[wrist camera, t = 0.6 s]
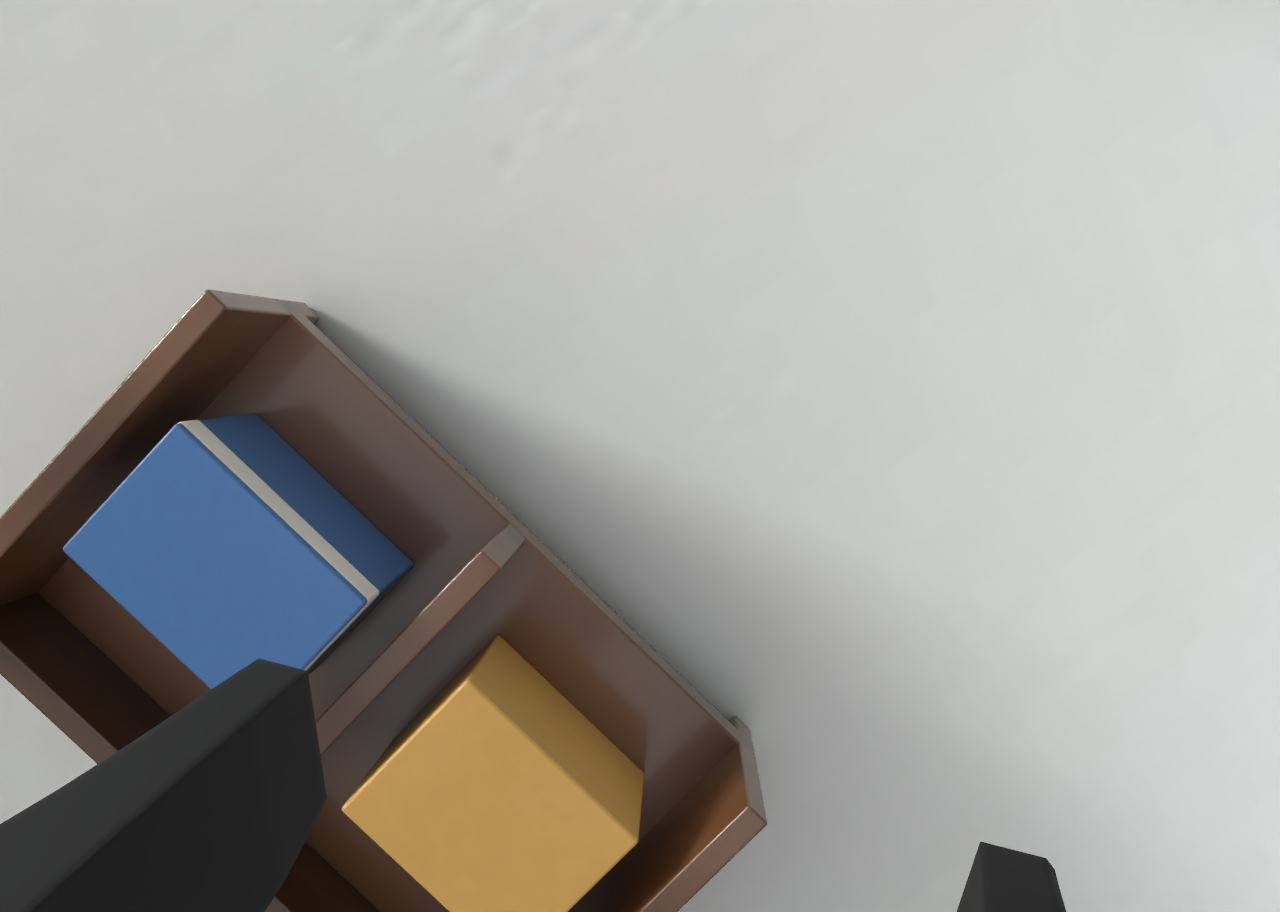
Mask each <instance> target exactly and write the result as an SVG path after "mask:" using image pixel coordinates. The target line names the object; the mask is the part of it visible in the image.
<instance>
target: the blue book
mask: <svg viewBox="0 0 1280 912" xmlns="http://www.w3.org/2000/svg"><path fill="white" fill-rule="evenodd" d="M63 551H64V552H65V553H66V554H67V555H68V556H69V557H70V558H71V559H72V560H74V561H75V562H76V563H77V564H78V565H79V566H80V567H81V568H82V569H83V570H84V571H85V572H86V573H87V574H89V575H90V576H91V577H92V578H93V579H94V580H95V581H96V582H97V583H98V584H99V585H100V586H101V587H102V588H103V589H105V590H106V591H107V592H108V593H109V594H110V595H111V596H112V597H113V598H114V599H115V600H116V601H117V602H118V603H120V604H121V605H122V606H123V607H124V608H125V609H126V610H127V611H128V612H129V613H130V614H131V615H132V616H133V617H134V618H136V619H137V620H138V621H139V622H140V623H141V624H142V625H143V626H144V627H145V628H146V629H147V630H148V631H149V632H150V633H152V634H153V635H154V636H155V637H156V638H157V639H158V640H159V641H160V642H161V643H162V644H163V645H164V646H165V647H167V648H168V649H169V650H170V651H171V652H172V653H173V654H174V655H175V656H176V657H177V658H178V659H179V660H180V661H181V662H183V663H184V664H185V665H186V666H187V667H188V668H189V669H190V670H191V671H192V672H193V673H194V674H195V675H196V676H198V677H199V678H200V679H201V680H202V681H203V682H204V683H205V684H206V685H207V686H208V687H209V688H210V689H213V688H214V687H216V686H217V685H219V684H220V683H222V682H223V681H225V680H226V679H228V678H229V677H231V676H232V675H234V674H235V673H237V672H238V671H240V670H241V669H243V668H245V667H246V666H248V665H249V664H251V663H252V662H254V661H255V660H257V659H263V660H267V661H271V662H275V663H279V664H283V665H287V666H291V667H295V668H298V669H302V670H306V671H308V675H309V674H311V673H312V672H313V671H314V670H315V669H316V668H317V667H318V666H319V665H320V664H321V663H322V662H323V661H324V660H325V659H326V658H327V657H328V656H329V655H330V654H331V653H332V652H333V651H334V650H335V649H336V648H337V647H338V645H339V644H340V643H341V642H342V641H343V640H344V639H345V638H346V637H347V636H348V635H349V634H350V633H351V632H352V631H353V630H354V629H355V628H356V627H357V626H358V625H359V624H360V622H361V621H362V620H363V619H364V618H365V617H366V616H367V615H368V614H369V613H370V612H371V611H372V610H373V609H374V608H375V607H376V606H377V605H378V604H379V603H380V602H381V601H382V599H383V598H384V597H385V596H386V595H387V594H388V593H389V592H390V591H391V590H392V589H393V588H394V587H395V586H396V585H397V584H398V583H399V582H400V581H401V580H402V579H403V578H404V576H405V575H406V574H407V573H408V572H409V571H410V570H411V569H412V568H413V567H414V564H413V562H412V561H411V560H410V559H409V558H408V557H407V556H405V555H404V554H403V553H402V552H401V551H400V550H399V549H398V548H397V547H396V546H395V545H394V544H393V543H392V542H391V541H390V540H389V539H388V538H387V537H385V536H384V535H383V534H382V533H381V532H380V531H379V530H378V529H377V528H376V527H375V526H374V525H373V524H372V523H371V522H370V521H369V520H368V519H367V518H365V517H364V516H363V515H362V514H361V513H360V512H359V511H358V510H357V509H356V508H355V507H354V506H353V505H352V504H351V503H350V502H349V501H348V500H347V499H345V498H344V497H343V496H342V495H341V494H340V493H339V492H338V491H337V490H336V489H335V488H334V487H333V486H332V485H331V484H330V483H329V482H328V481H327V480H325V479H324V478H323V477H322V476H321V475H320V474H319V473H318V472H317V471H316V470H315V469H314V468H313V467H312V466H311V465H310V464H309V463H308V462H307V461H305V460H304V459H303V458H302V457H301V456H300V455H299V454H298V453H297V452H296V451H295V450H294V449H293V448H292V447H291V446H290V445H289V444H288V443H287V442H285V441H284V440H283V439H282V438H281V437H280V436H279V435H278V434H277V433H276V432H275V431H274V430H273V429H272V428H271V427H270V426H269V425H268V424H267V423H265V422H264V421H263V420H262V419H261V418H260V417H259V416H258V415H257V414H255V413H252V414H244V415H237V416H229V417H221V418H214V419H206V420H191V421H183V422H179V423H177V424H175V425H174V426H173V427H172V428H171V430H170V431H169V432H168V433H167V434H166V435H165V436H164V437H163V438H162V439H161V440H160V442H159V443H158V444H157V445H156V446H155V447H154V448H153V449H152V450H151V451H150V453H149V454H148V455H147V456H146V457H145V458H144V459H143V460H142V461H141V462H140V463H139V465H138V466H137V467H136V468H135V469H134V470H133V471H132V472H131V473H130V474H129V476H128V477H127V478H126V479H125V480H124V481H123V482H122V483H121V484H120V485H119V486H118V488H117V489H116V490H115V491H114V492H113V493H112V494H111V495H110V496H109V497H108V499H107V500H106V501H105V502H104V503H103V504H102V505H101V506H100V507H99V508H98V509H97V511H96V512H95V513H94V514H93V515H92V516H91V517H90V518H89V519H88V520H87V521H86V523H85V524H84V525H83V526H82V527H81V528H80V529H79V530H78V531H77V532H76V534H75V535H74V536H73V537H72V538H71V539H70V540H69V541H68V542H67V543H66V544H65V546H64V547H63Z"/></svg>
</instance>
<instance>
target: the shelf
mask: <svg viewBox="0 0 1280 912" xmlns="http://www.w3.org/2000/svg"><path fill="white" fill-rule="evenodd" d="M318 318H319V317H318V316H317V315H316V314H315V313H314V312H313V311H312V310H311V309H310V308H309V307H308V306H307V305H306V304H304V303H299V302H292V301H286V300H278V299H271V298H264V297H257V296H250V295H243V294H236V293H229V292H222V291H215V290H206V291H205V292H204V293H203V294H202V295H201V296H200V297H199V298H198V299H197V300H196V302H195V303H194V304H193V305H192V306H191V307H190V308H189V309H188V310H187V311H186V313H185V314H184V315H183V316H182V317H181V318H180V319H179V320H178V321H177V323H176V324H175V325H174V326H173V327H172V328H171V329H170V330H169V331H168V333H167V334H166V335H165V336H164V337H163V338H162V339H161V340H160V341H159V342H158V344H157V345H156V346H155V347H154V348H153V349H152V350H151V351H150V352H149V354H148V355H147V356H146V357H145V358H144V359H143V360H142V361H141V362H140V364H139V365H138V366H137V367H136V368H135V369H134V370H133V371H132V372H131V373H130V375H129V376H128V377H127V378H126V379H125V380H124V381H123V382H122V383H121V385H120V386H119V387H118V388H117V389H116V390H115V391H114V392H113V393H112V395H111V396H110V397H109V398H108V399H107V400H106V401H105V402H104V403H103V405H102V406H101V407H100V408H99V409H98V410H97V411H96V412H95V413H94V414H93V416H92V417H91V418H90V419H89V420H88V421H87V422H86V423H85V424H84V426H83V427H82V428H81V429H80V430H79V431H78V432H77V433H76V434H75V436H74V437H73V438H72V439H71V440H70V441H69V442H68V443H67V444H66V445H65V447H64V448H63V449H62V450H61V451H60V452H59V453H58V454H57V455H56V457H55V458H54V459H53V460H52V461H51V462H50V463H49V464H48V465H47V467H46V468H45V469H44V470H43V471H42V472H41V473H40V474H39V475H38V476H37V478H36V479H35V480H34V481H33V482H32V483H31V484H30V485H29V486H28V488H27V489H26V490H25V491H24V492H23V493H22V494H21V495H20V496H19V498H18V499H17V500H16V501H15V502H14V503H13V504H12V505H11V506H10V507H9V509H8V510H7V511H6V512H5V513H4V514H3V515H2V516H1V517H0V674H1V675H2V676H3V677H4V678H5V679H7V680H8V681H9V682H10V683H11V684H12V685H13V686H14V687H15V688H16V689H17V690H18V691H19V692H21V693H22V694H23V695H24V696H25V697H26V698H27V699H28V700H29V701H30V702H31V703H32V704H34V705H35V706H36V707H37V708H38V709H39V710H40V711H41V712H42V713H43V714H44V715H45V716H46V717H48V718H49V719H50V720H51V721H52V722H53V723H54V724H55V725H56V726H57V727H58V728H59V729H60V730H62V731H63V732H64V733H65V734H66V735H67V736H68V737H69V738H70V739H71V740H72V741H73V742H74V743H76V744H77V745H78V746H79V747H80V748H81V749H82V750H83V751H84V752H85V753H86V754H87V755H88V756H90V757H91V758H92V759H93V760H94V761H95V762H96V763H97V764H99V763H101V762H102V761H104V760H105V759H107V758H108V757H110V756H111V755H113V754H114V753H116V752H118V751H119V750H121V749H122V748H124V747H125V746H127V745H128V744H130V743H132V742H133V741H135V740H136V739H138V738H139V737H141V736H142V735H144V734H145V733H147V732H148V731H150V730H151V729H153V728H154V727H156V726H157V725H159V724H160V723H162V722H163V721H165V720H166V719H168V718H169V717H171V716H172V715H174V714H175V713H177V712H178V711H180V710H181V709H183V708H184V707H186V706H187V705H189V704H190V703H192V702H193V701H195V700H196V699H198V698H199V697H201V696H202V695H204V694H205V693H207V692H208V691H210V690H211V689H210V688H209V687H208V686H207V685H206V684H205V683H204V682H203V681H202V680H201V679H200V678H199V677H198V676H196V675H195V674H194V673H193V672H192V671H191V670H190V669H189V668H188V667H187V666H186V665H185V664H184V663H183V662H181V661H180V660H179V659H178V658H177V657H176V656H175V655H174V654H173V653H172V652H171V651H170V650H169V649H168V648H167V647H165V646H164V645H163V644H162V643H161V642H160V641H159V640H158V639H157V638H156V637H155V636H154V635H153V634H152V633H150V632H149V631H148V630H147V629H146V628H145V627H144V626H143V625H142V624H141V623H140V622H139V621H138V620H137V619H136V618H134V617H133V616H132V615H131V614H130V613H129V612H128V611H127V610H126V609H125V608H124V607H123V606H122V605H121V604H120V603H118V602H117V601H116V600H115V599H114V598H113V597H112V596H111V595H110V594H109V593H108V592H107V591H106V590H105V589H103V588H102V587H101V586H100V585H99V584H98V583H97V582H96V581H95V580H94V579H93V578H92V577H91V576H90V575H89V574H87V573H86V572H85V571H84V570H83V569H82V568H81V567H80V566H79V565H78V564H77V563H76V562H75V561H74V560H72V559H71V558H70V557H69V556H68V555H67V554H66V553H65V552H64V551H63V547H64V546H65V544H66V543H67V542H68V541H69V540H70V539H71V538H72V537H73V536H74V535H75V534H76V532H77V531H78V530H79V529H80V528H81V527H82V526H83V525H84V524H85V523H86V521H87V520H88V519H89V518H90V517H91V516H92V515H93V514H94V513H95V512H96V511H97V509H98V508H99V507H100V506H101V505H102V504H103V503H104V502H105V501H106V500H107V499H108V497H109V496H110V495H111V494H112V493H113V492H114V491H115V490H116V489H117V488H118V486H119V485H120V484H121V483H122V482H123V481H124V480H125V479H126V478H127V477H128V476H129V474H130V473H131V472H132V471H133V470H134V469H135V468H136V467H137V466H138V465H139V463H140V462H141V461H142V460H143V459H144V458H145V457H146V456H147V455H148V454H149V453H150V451H151V450H152V449H153V448H154V447H155V446H156V445H157V444H158V443H159V442H160V440H161V439H162V438H163V437H164V436H165V435H166V434H167V433H168V432H169V431H170V430H171V428H172V427H173V426H174V425H175V424H177V423H179V422H183V421H191V420H206V419H214V418H221V417H229V416H237V415H244V414H252V413H255V414H257V415H258V416H259V417H260V418H261V419H262V420H263V421H264V422H265V423H267V424H268V425H269V426H270V427H271V428H272V429H273V430H274V431H275V432H276V433H277V434H278V435H279V436H280V437H281V438H282V439H283V440H284V441H285V442H287V443H288V444H289V445H290V446H291V447H292V448H293V449H294V450H295V451H296V452H297V453H298V454H299V455H300V456H301V457H302V458H303V459H304V460H305V461H307V462H308V463H309V464H310V465H311V466H312V467H313V468H314V469H315V470H316V471H317V472H318V473H319V474H320V475H321V476H322V477H323V478H324V479H325V480H327V481H328V482H329V483H330V484H331V485H332V486H333V487H334V488H335V489H336V490H337V491H338V492H339V493H340V494H341V495H342V496H343V497H344V498H345V499H347V500H348V501H349V502H350V503H351V504H352V505H353V506H354V507H355V508H356V509H357V510H358V511H359V512H360V513H361V514H362V515H363V516H364V517H365V518H367V519H368V520H369V521H370V522H371V523H372V524H373V525H374V526H375V527H376V528H377V529H378V530H379V531H380V532H381V533H382V534H383V535H384V536H385V537H387V538H388V539H389V540H390V541H391V542H392V543H393V544H394V545H395V546H396V547H397V548H398V549H399V550H400V551H401V552H402V553H403V554H404V555H405V556H407V557H408V558H409V559H410V560H411V561H412V562H413V564H414V567H413V568H412V569H411V570H410V571H409V572H408V573H407V574H406V575H405V576H404V578H403V579H402V580H401V581H400V582H399V583H398V584H397V585H396V586H395V587H394V588H393V589H392V590H391V591H390V592H389V593H388V594H387V595H386V596H385V597H384V598H383V599H382V601H381V602H380V603H379V604H378V605H377V606H376V607H375V608H374V609H373V610H372V611H371V612H370V613H369V614H368V615H367V616H366V617H365V618H364V619H363V620H362V621H361V622H360V624H359V625H358V626H357V627H356V628H355V629H354V630H353V631H352V632H351V633H350V634H349V635H348V636H347V637H346V638H345V639H344V640H343V641H342V642H341V643H340V644H339V645H338V647H337V648H336V649H335V650H334V651H333V652H332V653H331V654H330V655H329V656H328V657H327V658H326V659H325V660H324V661H323V662H322V663H321V664H320V665H319V666H318V667H317V668H316V669H315V670H314V671H313V672H312V673H311V674H309V682H310V689H311V695H312V702H313V709H314V715H315V722H316V729H317V736H318V742H319V749H320V756H321V762H322V769H323V776H324V782H325V789H326V796H327V798H326V800H325V802H324V804H323V806H322V808H321V810H320V812H319V814H318V817H317V819H316V821H315V823H314V825H313V827H312V829H311V831H310V833H309V835H308V837H307V839H306V841H305V843H304V845H303V847H302V849H301V851H300V853H299V854H298V856H297V858H296V860H295V862H294V864H293V866H292V868H291V870H290V871H289V873H288V875H287V877H286V879H285V881H284V883H283V884H282V886H281V888H280V889H279V891H278V892H277V894H276V895H275V897H274V898H273V900H272V901H271V903H270V905H269V906H268V908H267V909H266V911H265V912H449V911H448V910H447V909H446V908H445V907H444V906H443V905H442V904H441V903H440V902H439V901H438V900H437V899H436V898H435V897H433V896H432V895H431V894H430V893H429V892H428V891H427V890H426V889H425V888H424V887H423V886H422V885H421V884H420V883H418V882H417V881H416V880H415V879H414V878H413V877H412V876H411V875H410V874H409V873H408V872H407V871H406V870H405V869H404V868H402V867H401V866H400V865H399V864H398V863H397V862H396V861H395V860H394V859H393V858H392V857H391V856H390V855H389V854H387V853H386V852H385V851H384V850H383V849H382V848H381V847H380V846H379V845H378V844H377V843H376V842H375V841H374V840H373V839H371V838H370V837H369V836H368V835H367V834H366V833H365V832H364V831H363V830H362V829H361V828H360V827H359V826H358V825H357V824H355V823H354V822H353V821H352V820H351V819H350V818H349V817H348V816H347V815H346V814H345V813H344V812H343V811H342V807H343V805H344V804H345V803H346V801H347V800H348V799H349V797H350V796H351V795H352V793H353V792H354V791H355V789H356V788H357V787H358V785H359V784H360V783H361V781H362V780H363V779H364V777H365V776H366V775H367V773H368V772H369V771H370V769H371V768H372V767H373V765H374V764H375V763H376V761H377V760H378V759H379V757H380V756H381V755H382V753H383V752H384V751H385V750H386V748H387V747H388V746H389V744H390V743H391V742H392V741H393V740H394V739H395V738H396V737H397V736H398V735H399V734H400V733H401V732H402V731H403V730H404V729H405V728H406V727H407V726H408V725H409V724H410V723H411V722H412V721H413V720H414V719H415V718H416V717H417V716H418V715H419V714H420V713H421V712H422V711H423V710H424V708H425V707H426V706H427V705H428V704H429V703H430V702H431V701H432V700H433V699H434V698H435V697H436V696H437V695H438V694H439V693H440V692H441V691H442V690H443V689H444V688H445V687H446V686H447V685H448V684H449V683H450V682H451V681H452V680H453V679H454V678H455V677H456V676H457V675H458V674H459V673H460V672H461V671H462V670H463V668H464V667H465V666H466V665H467V664H468V663H469V662H470V661H471V660H472V659H473V658H474V657H475V656H476V655H477V654H478V653H479V652H480V651H481V650H482V649H483V648H484V647H485V646H486V645H487V644H488V643H489V642H490V641H491V640H492V639H493V638H494V637H495V636H496V635H499V636H500V637H502V638H503V639H504V640H505V641H506V642H507V643H508V644H509V645H510V646H511V647H512V648H513V649H514V650H515V651H516V652H517V653H518V654H519V655H520V656H522V657H523V658H524V659H525V660H526V661H527V662H528V663H529V664H530V665H531V666H532V667H533V668H534V669H535V670H536V671H537V672H538V673H539V674H540V675H542V676H543V677H544V678H545V679H546V680H547V681H548V682H549V683H550V684H551V685H552V686H553V687H554V688H555V689H556V690H557V691H558V692H559V693H560V694H562V695H563V696H564V697H565V698H566V699H567V700H568V701H569V702H570V703H571V704H572V705H573V706H574V707H575V708H576V709H577V710H578V711H579V712H580V713H582V714H583V715H584V716H585V717H586V718H587V719H588V720H589V721H590V722H591V723H592V724H593V725H594V726H595V727H596V728H597V729H598V730H599V731H600V732H601V733H603V734H604V735H605V736H606V737H607V738H608V739H609V740H610V741H611V742H612V743H613V744H614V745H615V746H616V747H617V748H618V749H619V750H620V751H621V752H623V753H624V754H625V755H626V756H627V757H628V758H629V759H630V760H631V761H632V762H633V763H634V764H635V765H636V766H637V767H638V768H639V769H640V770H641V771H643V773H644V783H643V794H642V805H641V817H640V828H639V839H638V843H637V844H636V845H635V846H634V847H633V848H632V849H631V850H630V851H629V852H628V853H627V854H626V855H625V856H624V857H623V858H622V859H621V860H620V861H619V862H618V863H617V864H616V865H615V866H614V867H613V868H612V869H611V870H610V871H609V872H608V873H607V874H606V875H605V876H604V877H603V878H601V879H600V880H599V881H598V882H597V883H596V884H595V885H594V886H593V887H592V888H591V889H590V890H589V891H588V892H587V893H586V894H585V895H584V896H583V897H582V898H581V899H580V900H579V901H578V902H577V903H576V904H575V905H574V906H573V907H572V908H571V909H570V910H569V911H568V912H677V911H678V910H679V909H681V908H682V907H683V906H684V905H685V904H686V903H687V902H688V901H689V900H690V899H691V898H692V897H693V896H694V895H695V894H696V893H697V892H698V891H699V890H700V889H701V888H702V887H703V886H704V885H705V884H706V883H707V882H708V881H709V880H710V879H711V878H712V877H713V876H715V875H716V874H717V873H718V872H719V871H720V870H721V869H722V868H723V867H724V866H725V865H726V864H727V863H728V862H729V861H730V860H731V859H732V858H733V857H734V856H735V855H736V854H737V853H738V852H739V851H740V850H741V849H742V848H743V847H744V846H745V845H746V844H747V843H749V842H750V841H751V840H752V839H753V838H754V837H755V836H756V835H757V834H758V833H759V832H760V831H761V830H762V829H763V828H764V827H765V826H766V825H767V818H766V813H765V807H764V802H763V797H762V791H761V786H760V780H759V775H758V770H757V764H756V759H755V753H754V748H753V743H752V737H751V732H750V729H749V728H748V727H747V726H746V725H745V724H744V723H743V722H742V721H741V720H740V719H739V718H738V717H736V716H734V717H733V718H732V719H731V720H730V721H728V720H727V719H726V718H725V717H724V716H723V715H722V714H721V713H720V712H719V711H718V710H717V709H716V708H715V707H713V706H712V705H711V704H710V703H709V702H708V701H707V700H706V699H705V698H704V697H703V696H702V695H701V694H700V693H699V692H698V691H697V690H696V689H695V688H694V687H693V686H692V685H690V684H689V683H688V682H687V681H686V680H685V679H684V678H683V677H682V676H681V675H680V674H679V673H678V672H677V671H676V670H675V669H674V668H673V667H672V666H671V665H670V664H669V663H667V662H666V661H665V660H664V659H663V658H662V657H661V656H660V655H659V654H658V653H657V652H656V651H655V650H654V649H653V648H652V647H651V646H650V645H649V644H648V643H647V642H646V641H644V640H643V639H642V638H641V637H640V636H639V635H638V634H637V633H636V632H635V631H634V630H633V629H632V628H631V627H630V626H629V625H628V624H627V623H626V622H625V621H624V620H623V619H621V618H620V617H619V616H618V615H617V614H616V613H615V612H614V611H613V610H612V609H611V608H610V607H609V606H608V605H607V604H606V603H605V602H604V601H603V600H602V599H601V598H600V597H598V596H597V595H596V594H595V593H594V592H593V591H592V590H591V589H590V588H589V587H588V586H587V585H586V584H585V583H584V582H583V581H582V580H581V579H580V578H579V577H578V576H577V575H575V574H574V573H573V572H572V571H571V570H570V569H569V568H568V567H567V566H566V565H565V564H564V563H563V562H562V561H561V560H560V559H559V558H558V557H557V556H556V555H555V554H554V553H552V552H551V551H550V550H549V549H548V548H547V547H546V546H545V545H544V544H543V543H542V542H541V541H540V540H539V539H538V538H537V537H536V536H535V535H534V534H533V533H532V532H531V531H529V530H528V529H527V528H526V527H525V526H524V525H523V524H522V523H521V522H520V521H519V520H518V519H517V518H516V517H515V516H514V515H513V514H512V513H511V512H510V511H509V510H508V509H506V508H505V507H504V506H503V505H502V504H501V503H500V502H499V501H498V500H497V499H496V498H495V497H494V496H493V495H492V494H491V493H490V492H489V491H488V490H487V489H486V488H485V487H483V486H482V485H481V484H480V483H479V482H478V481H477V480H476V479H475V478H474V477H473V476H472V475H471V474H470V473H469V472H468V471H467V470H466V469H465V468H464V467H463V466H462V465H460V464H459V463H458V462H457V461H456V460H455V459H454V458H453V457H452V456H451V455H450V454H449V453H448V452H447V451H446V450H445V449H444V448H443V447H442V446H441V445H440V444H439V443H437V442H436V441H435V440H434V439H433V438H432V437H431V436H430V435H429V434H428V433H427V432H426V431H425V430H424V429H423V428H422V427H421V426H420V425H419V424H418V423H417V422H416V421H414V420H413V419H412V418H411V417H410V416H409V415H408V414H407V413H406V412H405V411H404V410H403V409H402V408H401V407H400V406H399V405H398V404H397V403H396V402H395V401H394V400H393V399H391V398H390V397H389V396H388V395H387V394H386V393H385V392H384V391H383V390H382V389H381V388H380V387H379V386H378V385H377V384H376V383H375V382H374V381H373V380H372V379H371V378H370V377H368V376H367V375H366V374H365V373H364V372H363V371H362V370H361V369H360V368H359V367H358V366H357V365H356V364H355V363H354V362H353V361H352V360H351V359H350V358H349V357H348V356H347V355H345V354H344V353H343V352H342V351H341V350H340V349H339V348H338V347H337V346H336V345H335V344H334V343H333V342H332V341H331V340H330V339H329V338H328V337H327V336H326V335H325V334H324V333H322V332H321V331H320V330H319V329H318V328H317V327H316V326H315V325H314V323H315V322H316V321H317V320H318Z"/></svg>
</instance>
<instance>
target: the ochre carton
mask: <svg viewBox="0 0 1280 912" xmlns="http://www.w3.org/2000/svg"><path fill="white" fill-rule="evenodd" d="M643 783H644V773H643V771H641V770H640V769H639V768H638V767H637V766H636V765H635V764H634V763H633V762H632V761H631V760H630V759H629V758H628V757H627V756H626V755H625V754H624V753H623V752H621V751H620V750H619V749H618V748H617V747H616V746H615V745H614V744H613V743H612V742H611V741H610V740H609V739H608V738H607V737H606V736H605V735H604V734H603V733H601V732H600V731H599V730H598V729H597V728H596V727H595V726H594V725H593V724H592V723H591V722H590V721H589V720H588V719H587V718H586V717H585V716H584V715H583V714H582V713H580V712H579V711H578V710H577V709H576V708H575V707H574V706H573V705H572V704H571V703H570V702H569V701H568V700H567V699H566V698H565V697H564V696H563V695H562V694H560V693H559V692H558V691H557V690H556V689H555V688H554V687H553V686H552V685H551V684H550V683H549V682H548V681H547V680H546V679H545V678H544V677H543V676H542V675H540V674H539V673H538V672H537V671H536V670H535V669H534V668H533V667H532V666H531V665H530V664H529V663H528V662H527V661H526V660H525V659H524V658H523V657H522V656H520V655H519V654H518V653H517V652H516V651H515V650H514V649H513V648H512V647H511V646H510V645H509V644H508V643H507V642H506V641H505V640H504V639H503V638H502V637H500V636H499V635H496V636H495V637H494V638H493V639H492V640H491V641H490V642H489V643H488V644H487V645H486V646H485V647H484V648H483V649H482V650H481V651H480V652H479V653H478V654H477V655H476V656H475V657H474V658H473V659H472V660H471V661H470V662H469V663H468V664H467V665H466V666H465V667H464V668H463V670H462V671H461V672H460V673H459V674H458V675H457V676H456V677H455V678H454V679H453V680H452V681H451V682H450V683H449V684H448V685H447V686H446V687H445V688H444V689H443V690H442V691H441V692H440V693H439V694H438V695H437V696H436V697H435V698H434V699H433V700H432V701H431V702H430V703H429V704H428V705H427V706H426V707H425V708H424V710H423V711H422V712H421V713H420V714H419V715H418V716H417V717H416V718H415V719H414V720H413V721H412V722H411V723H410V724H409V725H408V726H407V727H406V728H405V729H404V730H403V731H402V732H401V733H400V734H399V735H398V736H397V737H396V738H395V739H394V740H393V741H392V742H391V743H390V744H389V746H388V747H387V748H386V750H385V751H384V752H383V753H382V755H381V756H380V757H379V759H378V760H377V761H376V763H375V764H374V765H373V767H372V768H371V769H370V771H369V772H368V773H367V775H366V776H365V777H364V779H363V780H362V781H361V783H360V784H359V785H358V787H357V788H356V789H355V791H354V792H353V793H352V795H351V796H350V797H349V799H348V800H347V801H346V803H345V804H344V805H343V807H342V811H343V812H344V813H345V814H346V815H347V816H348V817H349V818H350V819H351V820H352V821H353V822H354V823H355V824H357V825H358V826H359V827H360V828H361V829H362V830H363V831H364V832H365V833H366V834H367V835H368V836H369V837H370V838H371V839H373V840H374V841H375V842H376V843H377V844H378V845H379V846H380V847H381V848H382V849H383V850H384V851H385V852H386V853H387V854H389V855H390V856H391V857H392V858H393V859H394V860H395V861H396V862H397V863H398V864H399V865H400V866H401V867H402V868H404V869H405V870H406V871H407V872H408V873H409V874H410V875H411V876H412V877H413V878H414V879H415V880H416V881H417V882H418V883H420V884H421V885H422V886H423V887H424V888H425V889H426V890H427V891H428V892H429V893H430V894H431V895H432V896H433V897H435V898H436V899H437V900H438V901H439V902H440V903H441V904H442V905H443V906H444V907H445V908H446V909H447V910H448V911H449V912H568V911H569V910H570V909H571V908H572V907H573V906H574V905H575V904H576V903H577V902H578V901H579V900H580V899H581V898H582V897H583V896H584V895H585V894H586V893H587V892H588V891H589V890H590V889H591V888H592V887H593V886H594V885H595V884H596V883H597V882H598V881H599V880H600V879H601V878H603V877H604V876H605V875H606V874H607V873H608V872H609V871H610V870H611V869H612V868H613V867H614V866H615V865H616V864H617V863H618V862H619V861H620V860H621V859H622V858H623V857H624V856H625V855H626V854H627V853H628V852H629V851H630V850H631V849H632V848H633V847H634V846H635V845H636V844H637V843H638V839H639V828H640V817H641V805H642V794H643Z"/></svg>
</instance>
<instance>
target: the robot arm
mask: <svg viewBox="0 0 1280 912" xmlns="http://www.w3.org/2000/svg"><path fill="white" fill-rule="evenodd" d="M326 798H327V796H326V789H325V782H324V776H323V769H322V762H321V756H320V749H319V742H318V736H317V729H316V722H315V715H314V709H313V702H312V695H311V689H310V682H309V675H308V671H306V670H302V669H298V668H295V667H291V666H287V665H283V664H279V663H275V662H271V661H267V660H263V659H257V660H255V661H254V662H252V663H251V664H249V665H248V666H246V667H245V668H243V669H241V670H240V671H238V672H237V673H235V674H234V675H232V676H231V677H229V678H228V679H226V680H225V681H223V682H222V683H220V684H219V685H217V686H216V687H214V688H213V689H211V690H210V691H208V692H207V693H205V694H204V695H202V696H201V697H199V698H198V699H196V700H195V701H193V702H192V703H190V704H189V705H187V706H186V707H184V708H183V709H181V710H180V711H178V712H177V713H175V714H174V715H172V716H171V717H169V718H168V719H166V720H165V721H163V722H162V723H160V724H159V725H157V726H156V727H154V728H153V729H151V730H150V731H148V732H147V733H145V734H144V735H142V736H141V737H139V738H138V739H136V740H135V741H133V742H132V743H130V744H128V745H127V746H125V747H124V748H122V749H121V750H119V751H118V752H116V753H114V754H113V755H111V756H110V757H108V758H107V759H105V760H104V761H102V762H101V763H99V764H97V765H96V766H94V767H93V768H91V769H90V770H88V771H87V772H85V773H83V774H82V775H80V776H79V777H77V778H76V779H74V780H73V781H71V782H69V783H68V784H66V785H65V786H63V787H62V788H60V789H58V790H57V791H55V792H53V793H52V794H50V795H48V796H47V797H45V798H43V799H42V800H40V801H38V802H37V803H35V804H33V805H32V806H30V807H28V808H27V809H25V810H23V811H22V812H20V813H18V814H17V815H15V816H13V817H12V818H10V819H8V820H7V821H5V822H3V823H2V824H0V912H265V911H266V909H267V908H268V906H269V905H270V903H271V901H272V900H273V898H274V897H275V895H276V894H277V892H278V891H279V889H280V888H281V886H282V884H283V883H284V881H285V879H286V877H287V875H288V873H289V871H290V870H291V868H292V866H293V864H294V862H295V860H296V858H297V856H298V854H299V853H300V851H301V849H302V847H303V845H304V843H305V841H306V839H307V837H308V835H309V833H310V831H311V829H312V827H313V825H314V823H315V821H316V819H317V817H318V814H319V812H320V810H321V808H322V806H323V804H324V802H325V800H326ZM957 912H1066V910H1065V906H1064V903H1063V899H1062V896H1061V892H1060V889H1059V885H1058V881H1057V877H1056V873H1055V869H1054V868H1053V867H1052V865H1051V864H1050V863H1049V862H1048V860H1047V859H1046V858H1043V857H1039V856H1035V855H1031V854H1027V853H1023V852H1019V851H1015V850H1011V849H1007V848H1003V847H999V846H995V845H991V844H988V843H984V842H980V844H979V847H978V850H977V853H976V856H975V859H974V862H973V865H972V868H971V871H970V874H969V877H968V880H967V883H966V886H965V889H964V892H963V895H962V898H961V901H960V904H959V907H958V910H957Z"/></svg>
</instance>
